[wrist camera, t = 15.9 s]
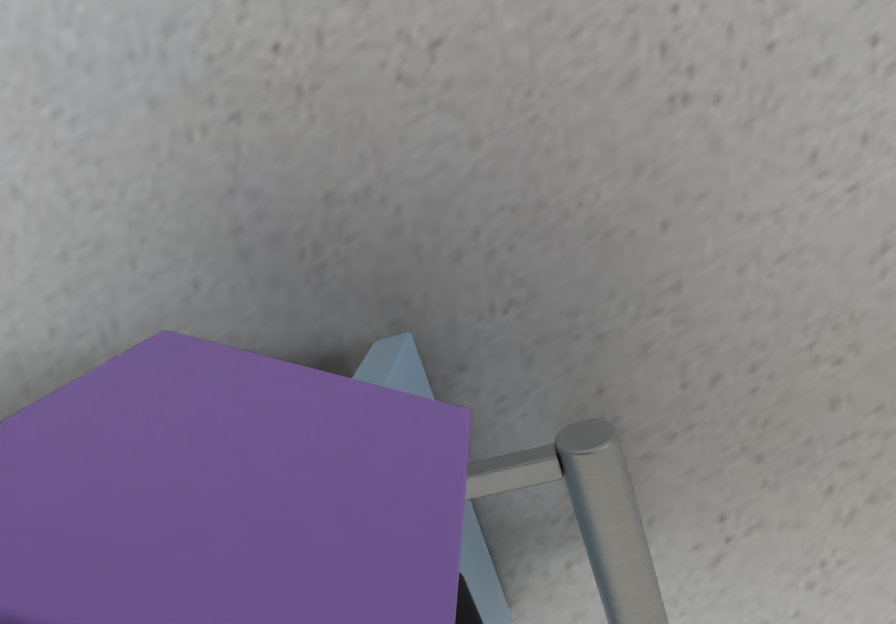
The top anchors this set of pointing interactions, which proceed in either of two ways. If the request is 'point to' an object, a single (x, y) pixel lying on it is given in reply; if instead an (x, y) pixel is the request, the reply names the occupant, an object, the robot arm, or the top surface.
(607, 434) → the blue drawer
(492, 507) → the top surface
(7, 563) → the block
